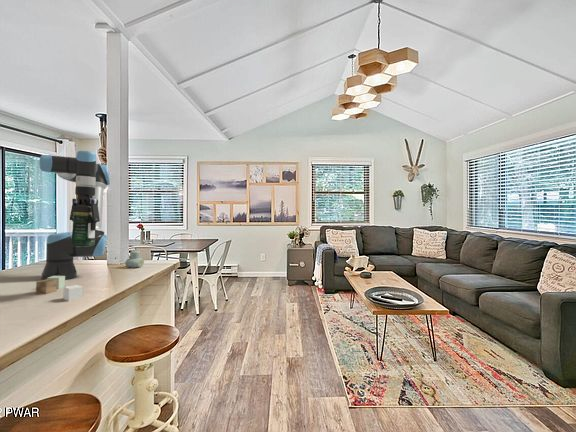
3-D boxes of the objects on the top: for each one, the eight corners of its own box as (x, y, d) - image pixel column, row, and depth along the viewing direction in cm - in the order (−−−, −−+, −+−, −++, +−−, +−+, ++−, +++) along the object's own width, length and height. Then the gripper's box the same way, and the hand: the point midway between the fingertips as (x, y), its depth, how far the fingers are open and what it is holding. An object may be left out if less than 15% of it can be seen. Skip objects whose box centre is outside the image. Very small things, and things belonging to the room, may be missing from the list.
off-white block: (63, 299, 134) (63, 286, 134) (76, 296, 138) (77, 284, 138) (68, 301, 131) (69, 288, 131) (82, 299, 135) (82, 286, 135)
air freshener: (133, 265, 215) (133, 250, 215) (145, 266, 214) (146, 250, 214) (123, 268, 204) (123, 252, 204) (136, 269, 204) (136, 252, 203)
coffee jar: (88, 247, 143) (89, 204, 142) (68, 247, 141) (69, 203, 141) (97, 245, 152) (99, 204, 152) (79, 244, 151) (80, 204, 151)
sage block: (46, 289, 148) (47, 277, 148) (53, 286, 153) (53, 275, 153) (58, 289, 149) (58, 278, 149) (64, 286, 154) (65, 275, 154)
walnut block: (36, 293, 141) (36, 281, 141) (46, 290, 146) (46, 279, 146) (46, 294, 140) (46, 282, 140) (56, 291, 145) (56, 280, 145)
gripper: (61, 185, 147) (59, 236, 148) (94, 185, 139) (92, 239, 139) (77, 187, 154) (76, 235, 155) (110, 187, 146) (108, 238, 146)
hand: (83, 237), depth 147 cm, fingers closed on coffee jar, 9 cm apart
